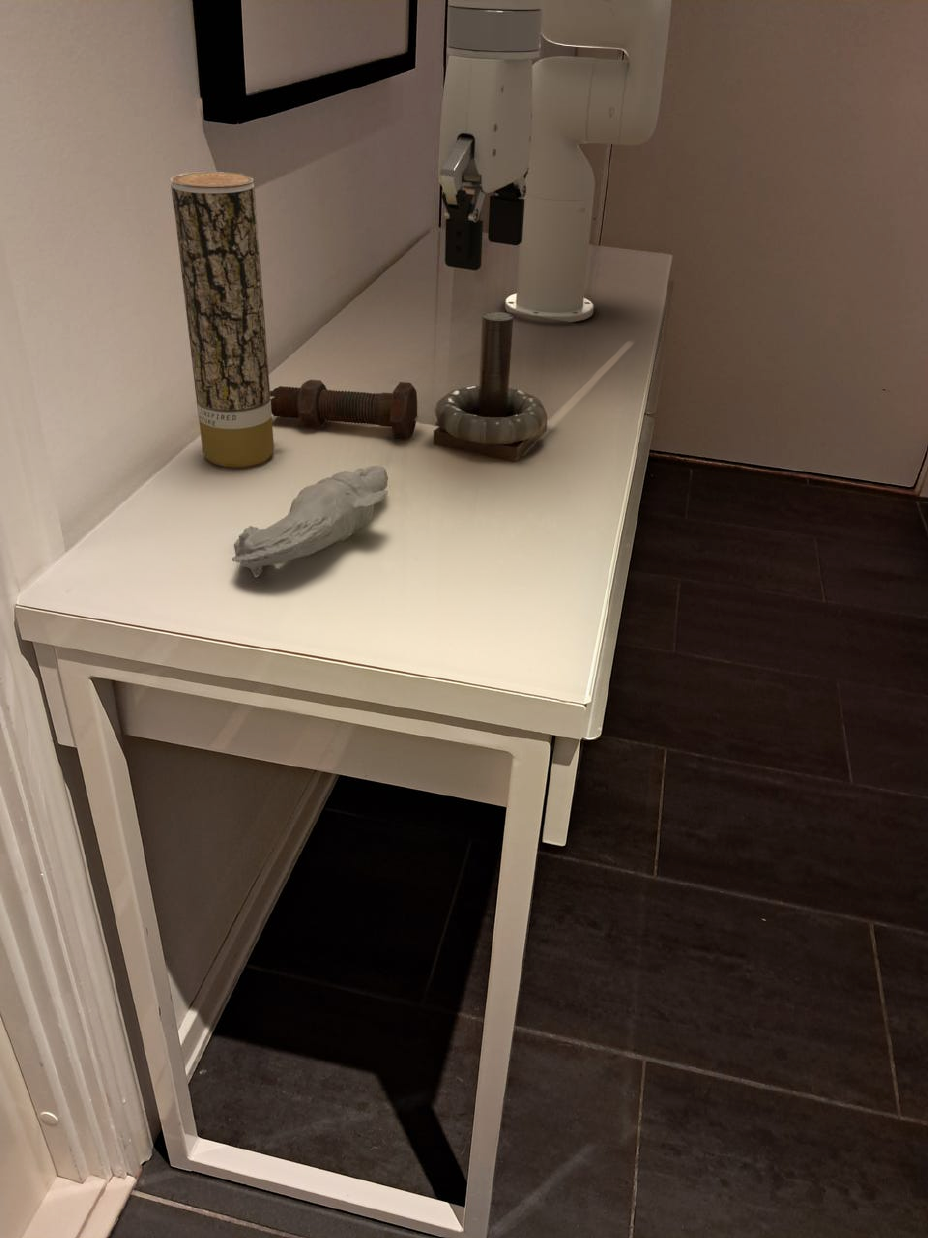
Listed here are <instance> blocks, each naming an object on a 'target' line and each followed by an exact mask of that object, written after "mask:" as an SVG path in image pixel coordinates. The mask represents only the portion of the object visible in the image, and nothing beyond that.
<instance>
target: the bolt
mask: <svg viewBox="0 0 928 1238" xmlns="http://www.w3.org/2000/svg"><path fill="white" fill-rule="evenodd" d="M417 395H418V394H417V390H416V388H415V387H414V385H413V384H412V382H405V381H400V382H399V383H398V384H397V385H396V387H395V389H393V391H392V392H379V393H378V392H365V391H364V392H363V391H356V390H355V391H350V390H348V391H347V390H337V389H336V390H335V389H327V387H326V384H324V383H323V382H322V380H319V379H308V380H305V382H303V383H301V386H300V387H297V386H292V387H291V386H284V385H283V386H281V385H279V386H278V387H275V388H273V390H270V398H271V397H272V398H271V412H272V415H273V417H276V418H286V419H298V420H299V422H300V423H301V424H302V425H303V426H304V427H305V428H306V429H313V430H317V429H318V428H320V427H322V426H324V424H325V422H333V423H334V422H336V423H345V424H346V423H350V424H358V425H359V424H360V425H369V426H371V425H372V426H379V427H385V428H391V431H392V435H393V439H394V440H395V441H396V440H398V441H406V440H408V439H410V438H412V436H413V435H414V431H415V429H416V425H417V420H416V419H417V417H418V396H417Z"/></svg>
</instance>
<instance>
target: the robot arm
mask: <svg viewBox="0 0 928 1238" xmlns="http://www.w3.org/2000/svg"><path fill="white" fill-rule="evenodd" d="M447 5H448V6H447V27H446V28H447V29H446V31H447V33H446V54H447V55H448V59H447V63H446V64H447V65H446V70H445V77H444V84H443V90H442V91H443V92H442V102H441V112H440V113H441V114H440V127H439V142H438V143H439V144H438V160H437V161H438V165H437V181H438V183H439V185H440V187H441V188H442V194H441V200H442V203H443V205H444V208H443V217H444V218H445V234H444V235H445V241H444V244H445V245H444V264H445V265H446V266H447V267H449V268H456V269H461V270H462V269H463V270H469V271H478V270H479V269H480V268H481V267H482V258H483V257H482V256H483V255H482V254H483V231H484V220H480V215H481V211H482V208H483V205H484V201H485V198H486V195H487V194H491V193H494V194H491V195H490V196H489V208H488V209H489V212H488V213H489V214H488V235H487V238H488V241H489V242H490V243H495V244H503V245H510V246H519V250H518V265H517V281H516V293H513V294H511V295H508V297H506V299H505V300H504V309H505V311H506V313H511V314H517V315H518V314H519V315H525V316H530V317H537V318H544V319H549V320H556V321H562V322H568V323H576V322H581V321H584V320H587V319H589V318H591V317H592V316H593V314H594V309H595V306H594V304H593V302H592V301H590V300H589V299H587V298H585V297H584V296H585V288H586V278H587V270H588V269H587V268H588V259H589V258H588V257H589V249H590V239H591V229H592V218H593V208H594V198H595V189H596V182H595V175H594V171H593V168H592V166H591V164H590V162H589V161H588V159H587V157H586V156H585V154H584V153H583V151H582V149H581V148H580V146H579V144H602V145H616V146H617V145H618V146H638V145H642V144H645V143H646V142H648V141H649V140H650V139H651V138H652V137H653V134H654V133H655V130H656V127H657V124H658V120H659V115H660V109H661V99H662V92H663V83H664V74H665V66H666V57H667V49H668V41H669V40H668V39H669V32H670V22H671V14H672V13H671V10H672V0H447ZM541 37H543V38H544V39H545V40H546V41H548V42H550V43H552V44H556V45H561V46H565V47H566V46H567V47H576V48H578V47H579V48H594V49H595V48H596V49H613V50H621V51H623V52H624V53H625V55H626V56H627V58H628V60H627V59H626V60H625V59H612V58H611V59H609V58H597V57H586V56H585V57H584V56H566V55H565V56H564V55H563V56H559V55H558V56H557V55H556V56H549V57H545V58H542V59H539V58H540V53H541ZM535 59H539V60H537V61H536V62H534V63H533V60H535ZM468 195H472V199H471V201H470V198H469V196H468Z"/></svg>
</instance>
